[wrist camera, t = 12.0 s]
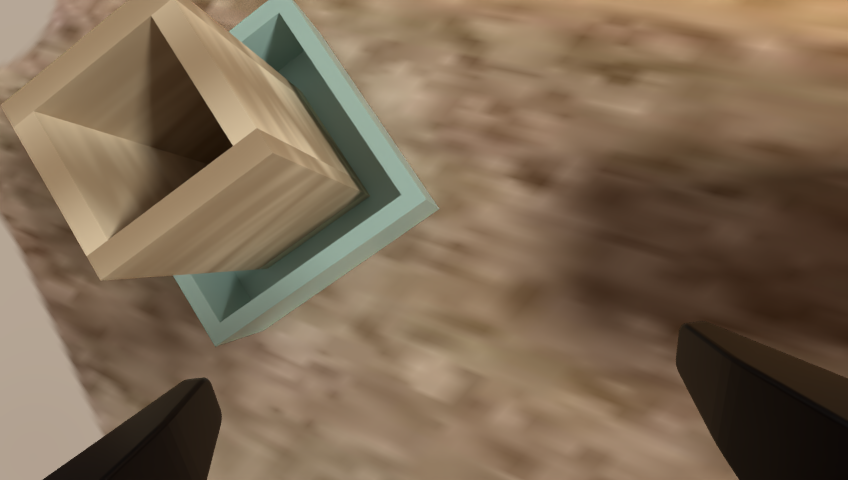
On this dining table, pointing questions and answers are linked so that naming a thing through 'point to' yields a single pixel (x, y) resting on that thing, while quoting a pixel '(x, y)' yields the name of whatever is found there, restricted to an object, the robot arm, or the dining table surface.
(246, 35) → the teal crate
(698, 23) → the dining table surface
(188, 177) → the birch crate
